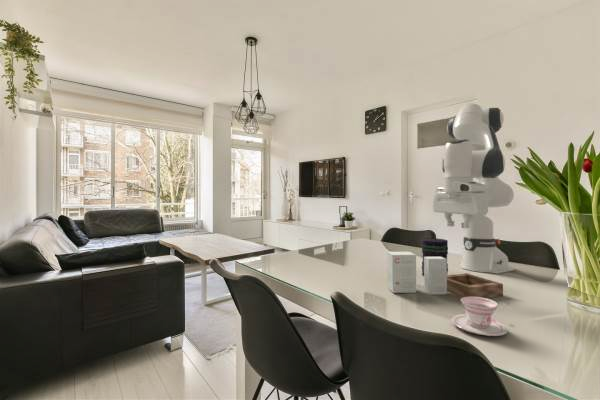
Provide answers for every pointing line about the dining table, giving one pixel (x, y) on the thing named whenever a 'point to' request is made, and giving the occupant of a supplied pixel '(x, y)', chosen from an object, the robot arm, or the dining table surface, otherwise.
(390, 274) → the small box
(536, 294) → the dining table surface
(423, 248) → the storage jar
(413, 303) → the dining table surface
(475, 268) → the robot arm
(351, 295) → the dining table surface
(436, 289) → the skincare box
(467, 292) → the wooden tray
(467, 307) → the teacup
